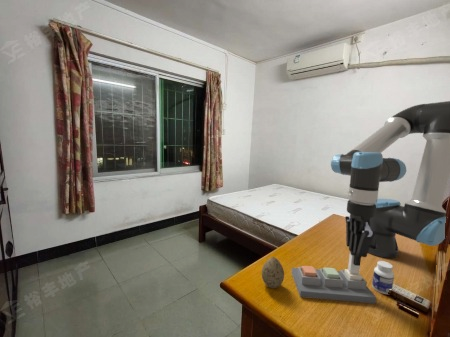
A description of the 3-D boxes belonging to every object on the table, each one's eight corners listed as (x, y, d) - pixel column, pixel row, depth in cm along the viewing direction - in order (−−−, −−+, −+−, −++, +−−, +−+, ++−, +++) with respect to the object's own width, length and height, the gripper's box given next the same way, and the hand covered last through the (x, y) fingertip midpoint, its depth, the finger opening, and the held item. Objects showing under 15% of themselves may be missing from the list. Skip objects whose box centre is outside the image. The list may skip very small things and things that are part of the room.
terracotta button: (312, 274, 72) (312, 266, 71) (315, 281, 68) (316, 273, 68) (301, 273, 72) (301, 265, 72) (304, 280, 68) (305, 272, 68)
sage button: (333, 276, 71) (334, 268, 71) (338, 283, 68) (339, 274, 67) (322, 275, 71) (323, 267, 71) (326, 282, 68) (327, 273, 67)
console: (354, 277, 75) (356, 265, 74) (375, 303, 63) (377, 289, 62) (291, 272, 77) (292, 261, 76) (300, 296, 65) (301, 283, 64)
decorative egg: (266, 276, 74) (267, 249, 73) (286, 284, 70) (288, 256, 69) (257, 287, 68) (259, 259, 67) (278, 297, 64) (281, 266, 63)
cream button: (355, 278, 70) (356, 269, 70) (361, 285, 67) (362, 276, 67) (343, 277, 71) (344, 268, 70) (349, 284, 67) (350, 275, 67)
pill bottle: (369, 282, 73) (373, 258, 72) (388, 286, 71) (391, 261, 70) (374, 292, 68) (377, 266, 67) (394, 296, 66) (398, 270, 65)
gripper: (339, 195, 72) (332, 260, 75) (360, 207, 59) (351, 284, 62) (362, 196, 71) (354, 261, 75) (388, 209, 59) (378, 286, 62)
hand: (353, 272), depth 68 cm, fingers closed
